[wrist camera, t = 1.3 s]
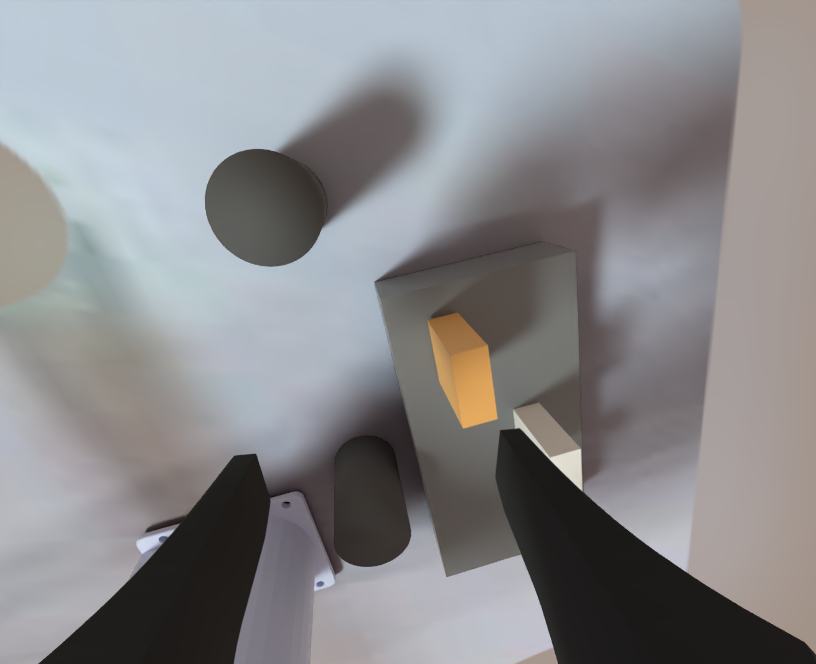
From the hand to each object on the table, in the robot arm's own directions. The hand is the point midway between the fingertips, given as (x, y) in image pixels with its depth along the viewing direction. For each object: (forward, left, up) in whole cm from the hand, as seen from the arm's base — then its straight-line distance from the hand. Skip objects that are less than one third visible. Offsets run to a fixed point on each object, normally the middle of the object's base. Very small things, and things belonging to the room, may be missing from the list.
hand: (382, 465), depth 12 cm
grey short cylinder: (-2, -7, -10) cm, 12 cm away
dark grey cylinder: (-2, +8, -10) cm, 12 cm away
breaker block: (+6, -6, -10) cm, 13 cm away
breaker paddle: (+4, 0, -6) cm, 8 cm away
